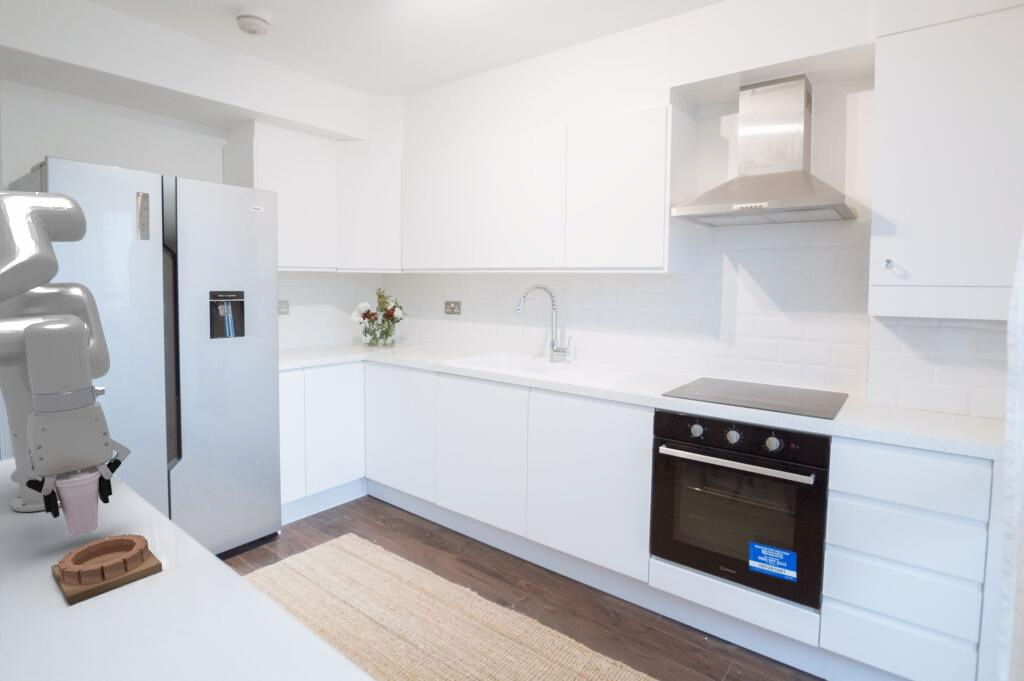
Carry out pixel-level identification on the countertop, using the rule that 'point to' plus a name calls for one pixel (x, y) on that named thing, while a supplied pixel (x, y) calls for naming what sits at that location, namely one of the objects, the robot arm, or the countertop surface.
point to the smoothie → (79, 499)
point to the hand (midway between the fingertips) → (80, 506)
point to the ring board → (104, 566)
